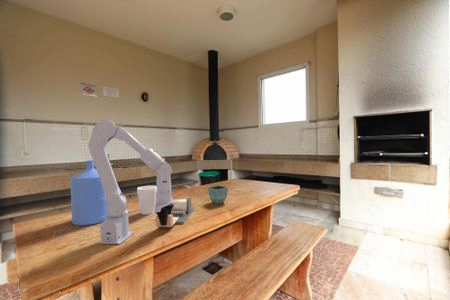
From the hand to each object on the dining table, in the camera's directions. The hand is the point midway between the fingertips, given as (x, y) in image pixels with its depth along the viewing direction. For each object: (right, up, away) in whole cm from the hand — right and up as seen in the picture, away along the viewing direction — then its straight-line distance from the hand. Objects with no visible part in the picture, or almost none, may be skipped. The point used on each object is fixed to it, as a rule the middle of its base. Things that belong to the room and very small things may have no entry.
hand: (165, 223), depth 85 cm
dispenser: (+2, -2, +16) cm, 16 cm away
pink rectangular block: (0, -1, +4) cm, 4 cm away
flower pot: (+21, -1, +37) cm, 42 cm away
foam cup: (-15, -2, +21) cm, 26 cm away
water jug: (-38, -3, +12) cm, 40 cm away
